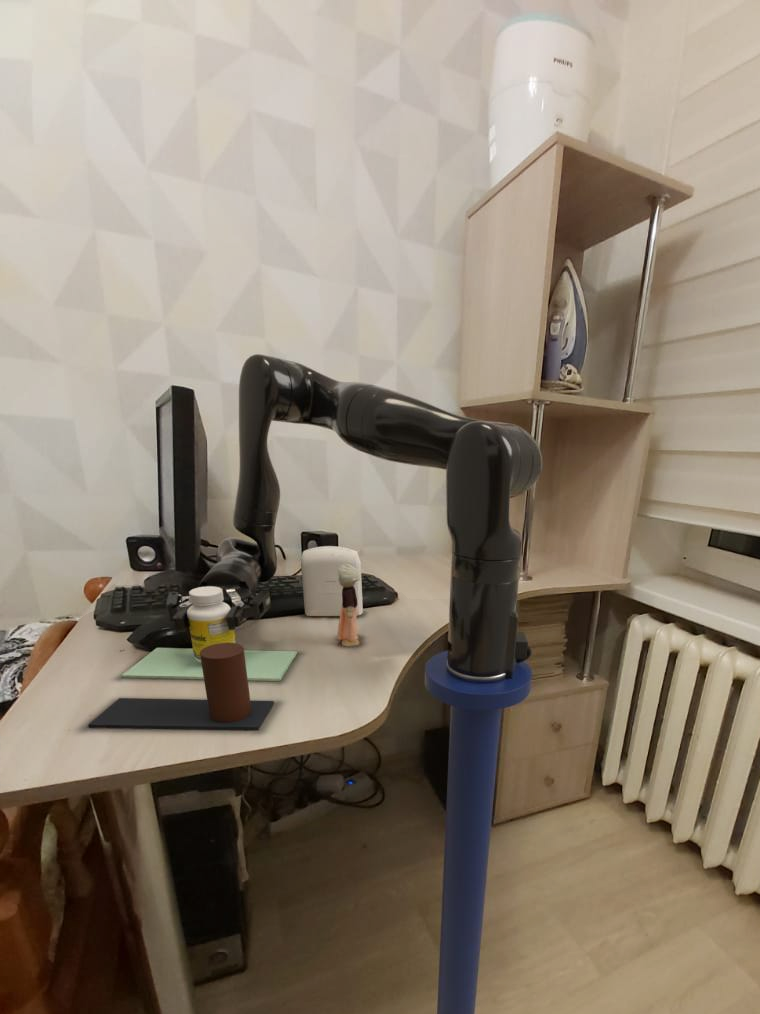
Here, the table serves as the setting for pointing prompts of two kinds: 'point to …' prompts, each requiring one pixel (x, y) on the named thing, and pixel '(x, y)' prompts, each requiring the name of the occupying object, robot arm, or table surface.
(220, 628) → the supplement bottle
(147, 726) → the dark mat
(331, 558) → the photo printer
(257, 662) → the pale mat
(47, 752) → the table surface
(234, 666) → the brown cylinder
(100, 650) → the table surface
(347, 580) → the grandmother figurine
